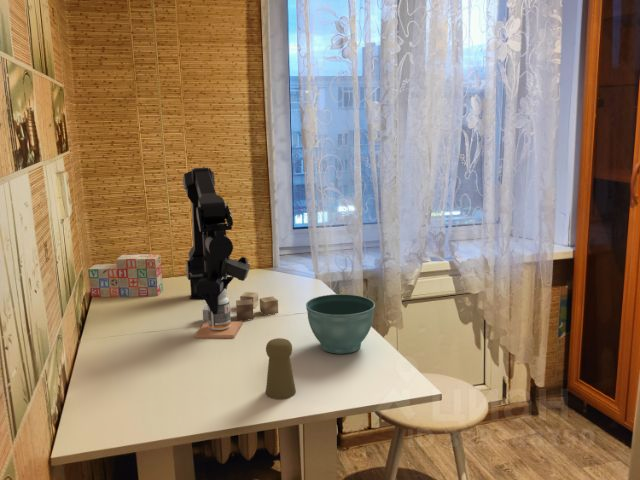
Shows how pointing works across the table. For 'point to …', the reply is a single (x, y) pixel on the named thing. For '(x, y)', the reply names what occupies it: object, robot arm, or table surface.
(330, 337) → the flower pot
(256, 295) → the beech block
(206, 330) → the terracotta tile
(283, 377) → the olive pawn
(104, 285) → the stack of blocks
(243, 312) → the walnut cube
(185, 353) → the table surface
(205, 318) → the grey painted block
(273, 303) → the oak block
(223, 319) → the pill bottle
